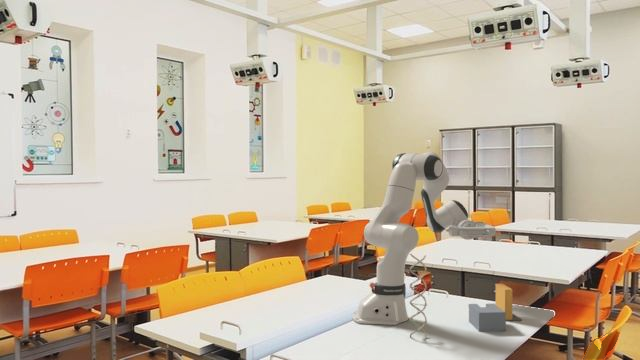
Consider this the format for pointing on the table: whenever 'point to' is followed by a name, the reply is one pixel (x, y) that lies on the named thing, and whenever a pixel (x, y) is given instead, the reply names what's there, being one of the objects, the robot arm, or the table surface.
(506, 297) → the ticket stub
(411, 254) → the dna model
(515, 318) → the mat
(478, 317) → the box
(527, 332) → the table surface
